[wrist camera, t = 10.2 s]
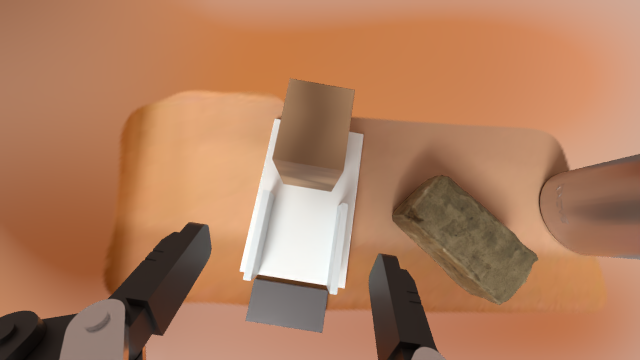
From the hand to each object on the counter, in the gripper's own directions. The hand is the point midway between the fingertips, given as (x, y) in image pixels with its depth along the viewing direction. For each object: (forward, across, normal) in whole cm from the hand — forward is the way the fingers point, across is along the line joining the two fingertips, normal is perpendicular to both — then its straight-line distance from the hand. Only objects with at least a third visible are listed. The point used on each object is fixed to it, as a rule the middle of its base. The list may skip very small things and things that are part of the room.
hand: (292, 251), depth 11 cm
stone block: (+11, -15, +7) cm, 20 cm away
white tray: (+10, 0, +7) cm, 12 cm away
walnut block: (+14, 0, +2) cm, 15 cm away
